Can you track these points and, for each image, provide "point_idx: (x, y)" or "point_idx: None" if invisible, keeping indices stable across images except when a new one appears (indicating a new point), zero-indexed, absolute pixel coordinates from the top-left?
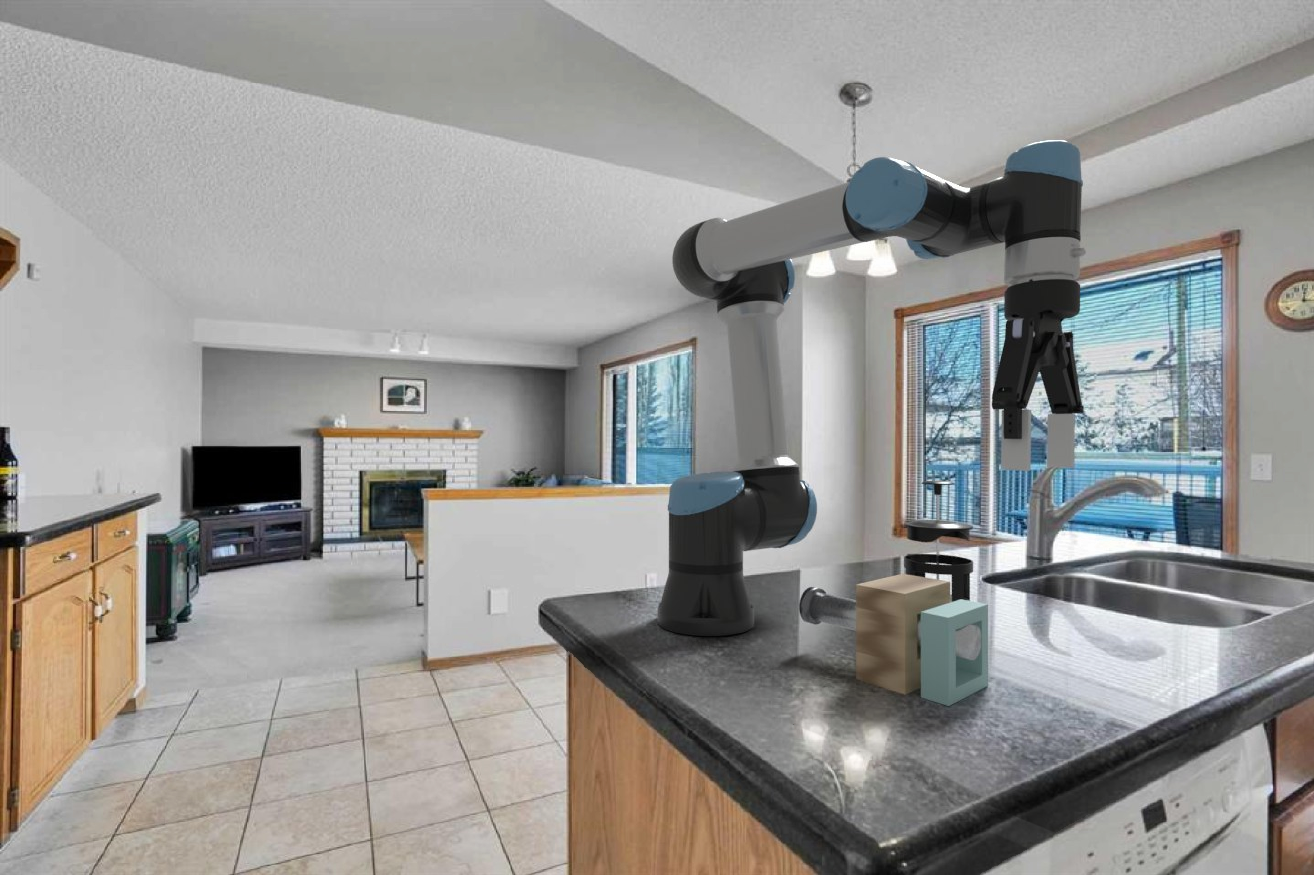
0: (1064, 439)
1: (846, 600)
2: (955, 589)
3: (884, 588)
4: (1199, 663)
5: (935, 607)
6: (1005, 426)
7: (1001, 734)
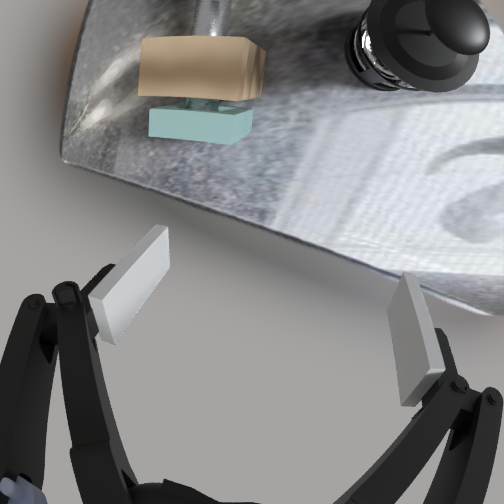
0: (401, 343)
1: (202, 2)
2: (369, 73)
3: (145, 68)
4: (454, 263)
5: (176, 110)
6: (93, 280)
7: (188, 158)
